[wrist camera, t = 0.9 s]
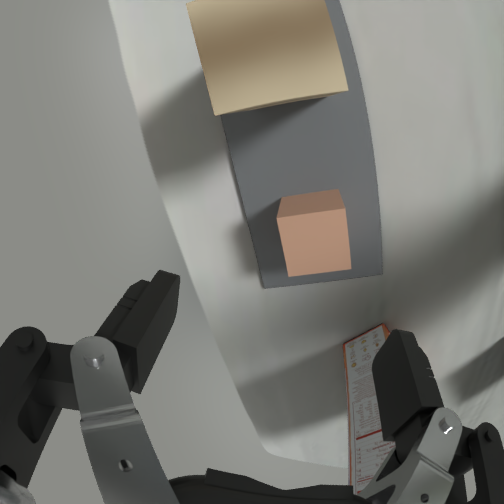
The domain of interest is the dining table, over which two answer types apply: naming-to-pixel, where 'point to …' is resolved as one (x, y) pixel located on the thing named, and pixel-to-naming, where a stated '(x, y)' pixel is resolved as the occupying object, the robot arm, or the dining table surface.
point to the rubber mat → (310, 168)
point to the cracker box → (364, 409)
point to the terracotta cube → (314, 233)
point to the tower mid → (265, 52)
